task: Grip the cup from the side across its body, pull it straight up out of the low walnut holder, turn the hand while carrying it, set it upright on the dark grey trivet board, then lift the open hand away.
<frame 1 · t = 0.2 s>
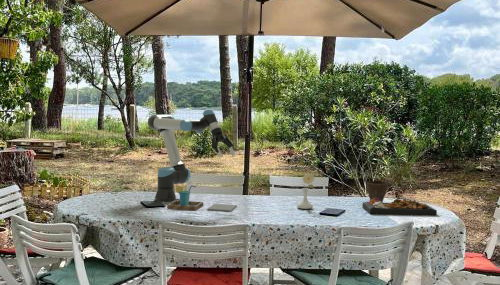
hand: (227, 156, 429), 35 cm above the table, tool tilted 35°, fingers open, 13 cm apart
plant pot: (376, 204, 458), on the table
cup holder: (185, 206, 426), on the table
trivet board: (222, 208, 424), on the table
cup: (185, 207, 426), resting in cup holder
food platter: (398, 212, 430), on the table
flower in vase: (305, 209, 431), on the table
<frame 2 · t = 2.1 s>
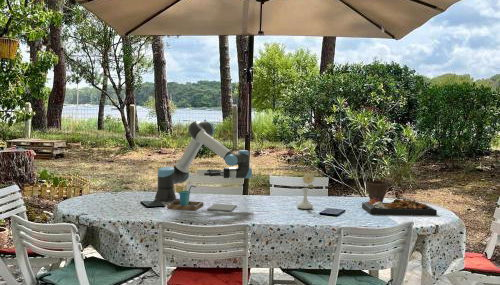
hand: (198, 172, 426), 24 cm above the table, tool horizontal, fingers open, 13 cm apart
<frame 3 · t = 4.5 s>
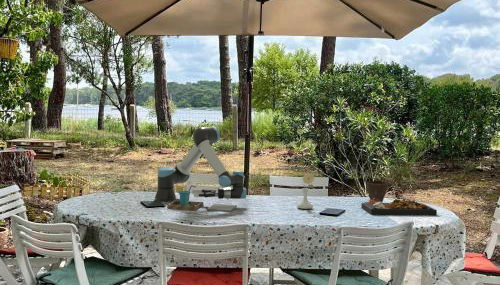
hand: (193, 193, 426), 9 cm above the table, tool horizontal, fingers open, 13 cm apart
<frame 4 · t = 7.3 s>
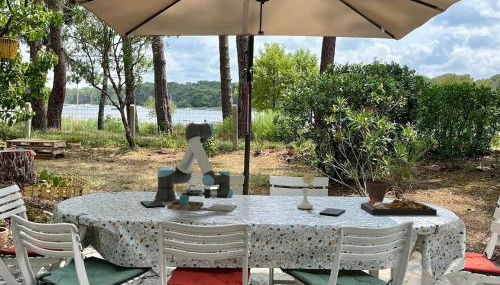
hand: (176, 192, 425), 10 cm above the table, tool horizontal, fingers closed on cup, 8 cm apart
cup: (185, 206, 426), resting in cup holder, touching gripper
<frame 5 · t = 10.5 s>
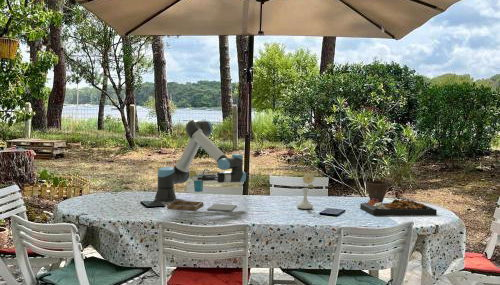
hand: (191, 177, 420), 21 cm above the table, tool horizontal, fingers closed on cup, 8 cm apart
cup: (200, 191, 422), point 11 cm above the table, touching gripper
when the fingers open (12 cm above the table, at t = 13.9 s): cup drops 2 cm, resting on trivet board.
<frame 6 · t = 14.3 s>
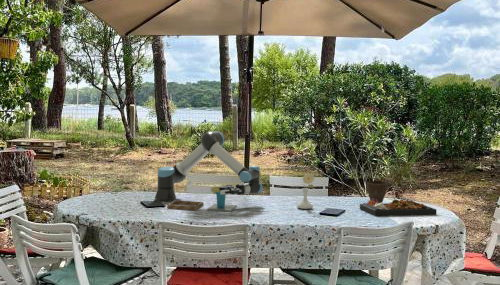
hand: (215, 191, 421), 12 cm above the table, tool horizontal, fingers open, 12 cm apart
cup: (222, 207, 424), point 1 cm above the table, touching trivet board
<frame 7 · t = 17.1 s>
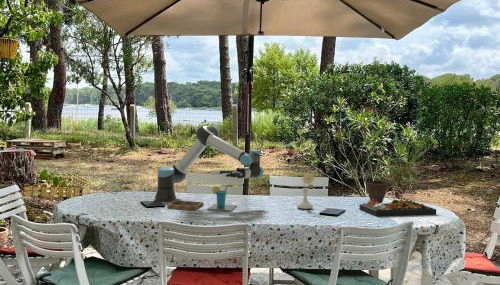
hand: (216, 174, 420), 24 cm above the table, tool horizontal, fingers open, 13 cm apart
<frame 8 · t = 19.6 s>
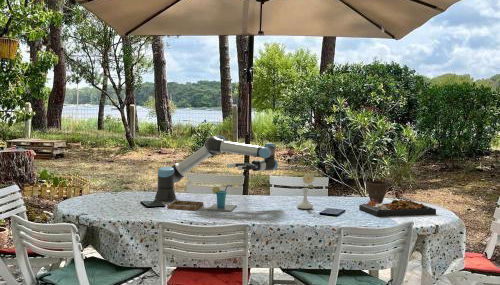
hand: (232, 166, 427), 28 cm above the table, tool horizontal, fingers open, 13 cm apart
at the end: cup inside the target area on the trivet board (0.1 cm from its centre), point 0.8 cm above the trivet board's base; cup tilted 0°; the gripper is holding nothing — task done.
